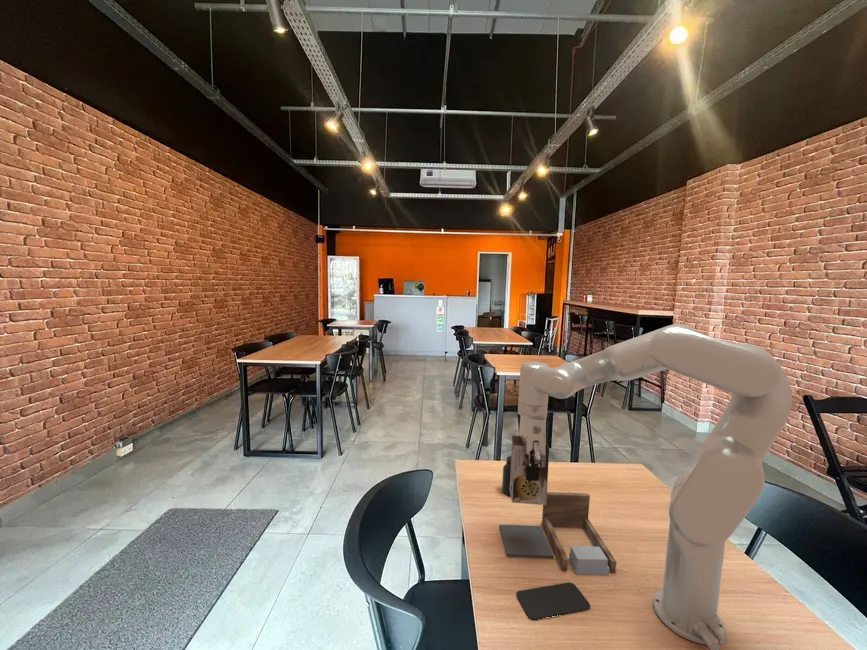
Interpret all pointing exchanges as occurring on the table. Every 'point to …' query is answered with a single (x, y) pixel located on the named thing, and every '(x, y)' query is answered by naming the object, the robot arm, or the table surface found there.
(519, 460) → the coffee box
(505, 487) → the supplement bottle
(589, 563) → the block
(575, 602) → the phone
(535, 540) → the dark grey square plate
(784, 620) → the table surface
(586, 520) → the walnut rack
